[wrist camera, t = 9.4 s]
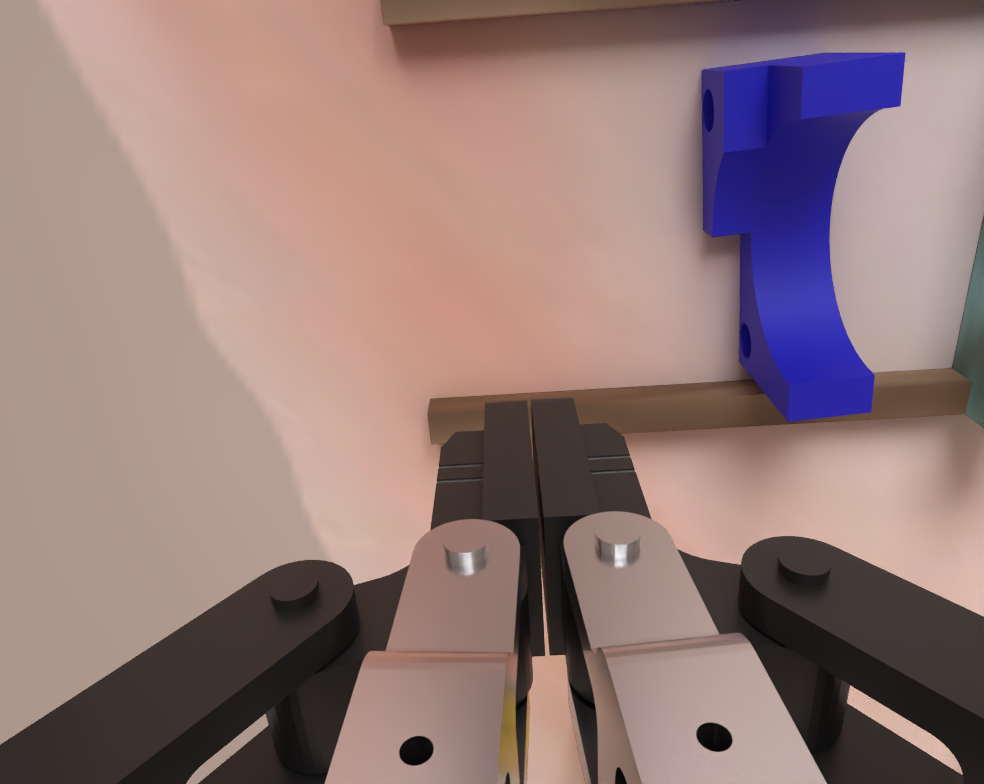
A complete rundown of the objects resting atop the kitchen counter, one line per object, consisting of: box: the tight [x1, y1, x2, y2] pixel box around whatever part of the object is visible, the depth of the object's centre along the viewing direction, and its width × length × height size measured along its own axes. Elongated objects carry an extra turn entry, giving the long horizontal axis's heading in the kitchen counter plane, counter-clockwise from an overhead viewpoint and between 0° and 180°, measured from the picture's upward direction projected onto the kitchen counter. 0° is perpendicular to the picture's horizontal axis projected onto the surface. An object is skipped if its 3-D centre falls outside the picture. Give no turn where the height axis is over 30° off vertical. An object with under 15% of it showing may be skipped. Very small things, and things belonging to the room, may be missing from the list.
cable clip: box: [702, 53, 905, 422], centre depth 27 cm, size 12×4×6 cm, turn 7°
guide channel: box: [381, 0, 984, 444], centre depth 27 cm, size 18×26×6 cm
